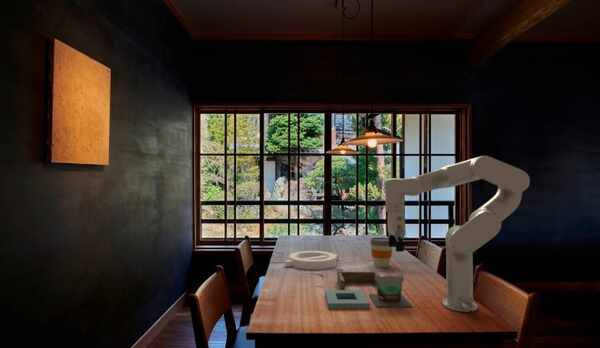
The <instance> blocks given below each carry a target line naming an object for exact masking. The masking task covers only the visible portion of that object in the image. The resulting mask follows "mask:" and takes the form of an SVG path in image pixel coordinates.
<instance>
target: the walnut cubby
mask: <svg viewBox="0 0 600 348" xmlns="http://www.w3.org/2000/svg"><path fill="white" fill-rule="evenodd" d="M336 274H337V278H336V279H337V280H336V281H337V285H338V287H339V290H346V284H350V283H351V284H360V283H361V284H365V283H366V284H374V286H376V287H377V281H376V280H375V277H376V275H377V276H380V277H381V275H380V274H379V272H377V271H337V273H336Z"/></svg>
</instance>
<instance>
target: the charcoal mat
mask: <svg viewBox="0 0 600 348" xmlns="http://www.w3.org/2000/svg"><path fill="white" fill-rule="evenodd" d="M369 298H370V299H371V301H372V302H373V303H374V306H375V305H376V306H375V307H376V308H377V307H382V308H413V305H412V304H411V302H410V301H409V300H408V299H407V298H406V297H405V296H404V295H403V294H402V293H401V300H400V301H399V302H395V303H389V302H384V301H381V300H379V299H378V293H369Z"/></svg>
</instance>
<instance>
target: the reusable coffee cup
mask: <svg viewBox="0 0 600 348" xmlns="http://www.w3.org/2000/svg"><path fill="white" fill-rule="evenodd" d="M389 238H390V237H372V238H370V246H371V248H370V250H371V257H372V263H373V266H375V267H378V268H388V267H390V265H391V264H390V263H391V258H392V256H393V255H392V254H393V247H389Z"/></svg>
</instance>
